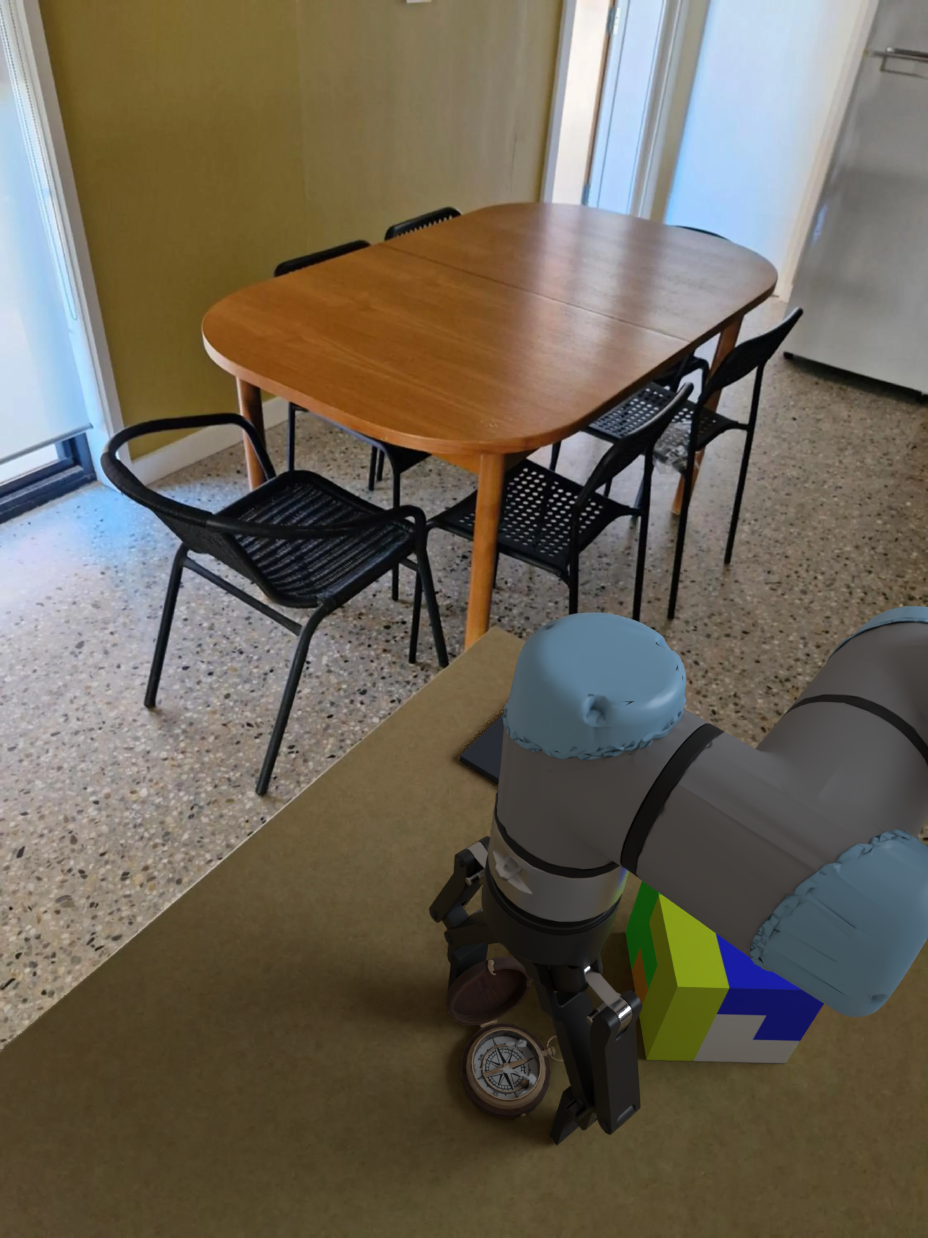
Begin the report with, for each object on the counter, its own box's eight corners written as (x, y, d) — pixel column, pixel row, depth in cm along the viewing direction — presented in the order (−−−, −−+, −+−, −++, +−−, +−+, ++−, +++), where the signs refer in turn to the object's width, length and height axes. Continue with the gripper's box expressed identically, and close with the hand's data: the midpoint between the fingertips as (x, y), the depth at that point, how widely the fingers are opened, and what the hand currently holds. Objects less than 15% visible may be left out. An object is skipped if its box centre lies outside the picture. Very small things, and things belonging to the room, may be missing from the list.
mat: (647, 748, 86) (648, 742, 85) (578, 833, 77) (579, 827, 77) (534, 688, 91) (535, 682, 91) (459, 761, 83) (459, 755, 82)
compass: (480, 1136, 58) (489, 1086, 53) (440, 1022, 63) (445, 968, 59) (589, 1095, 60) (607, 1044, 56) (541, 989, 66) (554, 935, 61)
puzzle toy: (785, 1063, 63) (832, 991, 57) (646, 1060, 62) (677, 986, 56) (749, 935, 71) (786, 859, 64) (625, 931, 70) (650, 854, 64)
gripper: (379, 762, 53) (376, 960, 67) (667, 1090, 39) (588, 1253, 53) (478, 712, 56) (456, 909, 70) (772, 995, 43) (673, 1170, 57)
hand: (513, 1057), depth 62 cm, fingers open, 10 cm apart
